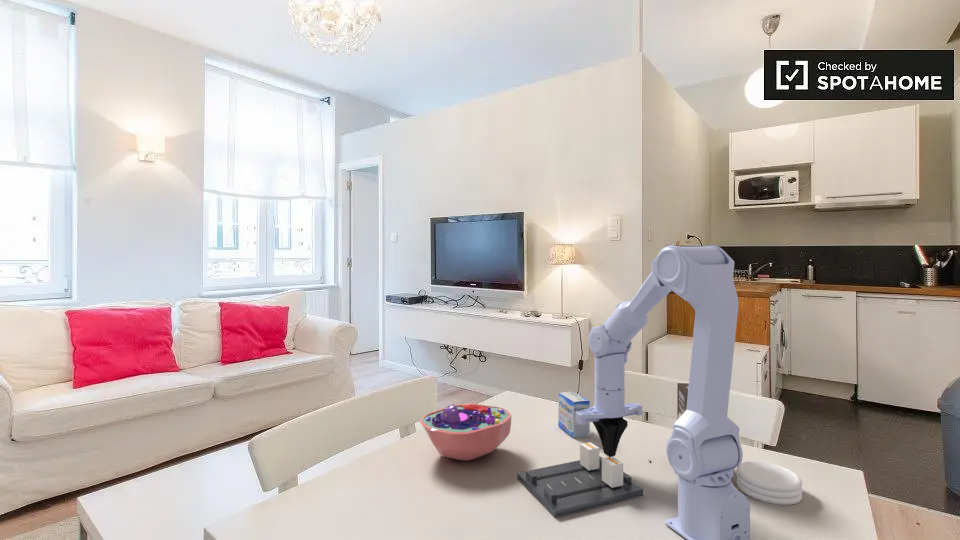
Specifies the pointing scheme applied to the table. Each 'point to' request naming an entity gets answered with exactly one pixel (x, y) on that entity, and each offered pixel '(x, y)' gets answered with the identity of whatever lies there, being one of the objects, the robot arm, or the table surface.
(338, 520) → the table surface
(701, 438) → the robot arm
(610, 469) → the near fader
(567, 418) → the medicine box
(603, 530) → the table surface
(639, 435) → the table surface
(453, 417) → the cell model
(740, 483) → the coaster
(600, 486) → the console
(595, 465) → the far fader
